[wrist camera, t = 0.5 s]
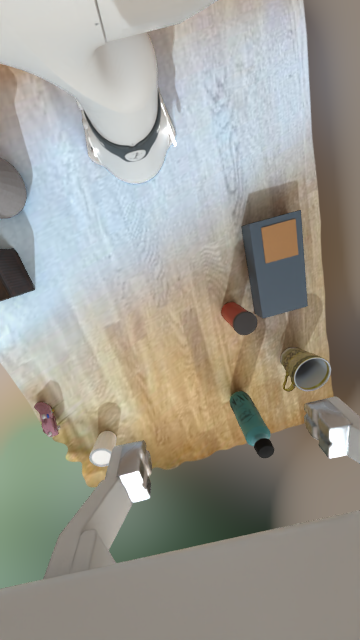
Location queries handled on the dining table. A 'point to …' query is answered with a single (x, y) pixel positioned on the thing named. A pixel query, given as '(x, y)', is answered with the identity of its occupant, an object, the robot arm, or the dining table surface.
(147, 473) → the robot arm
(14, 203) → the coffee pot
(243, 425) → the beverage bottle
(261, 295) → the platform
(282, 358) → the ceramic cup
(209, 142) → the dining table surface
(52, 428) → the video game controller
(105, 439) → the white short cylinder
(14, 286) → the manual coffee grinder
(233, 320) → the red canister
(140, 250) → the dining table surface
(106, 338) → the dining table surface
